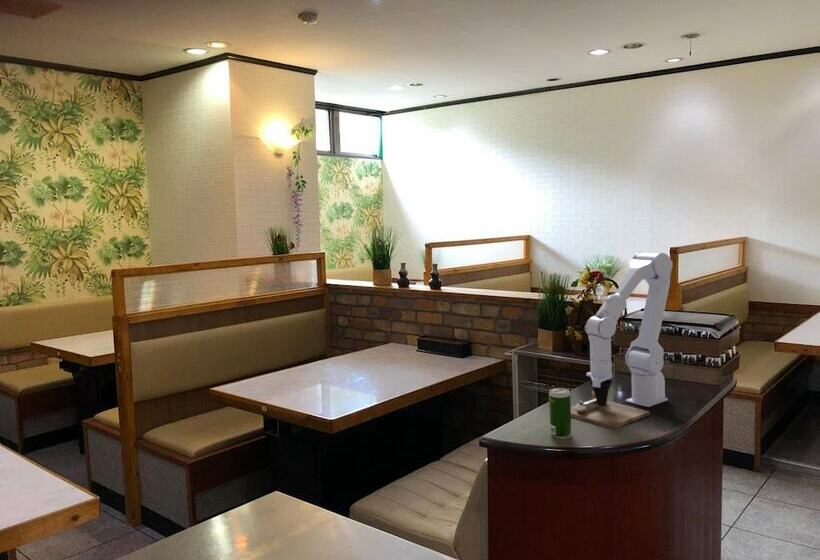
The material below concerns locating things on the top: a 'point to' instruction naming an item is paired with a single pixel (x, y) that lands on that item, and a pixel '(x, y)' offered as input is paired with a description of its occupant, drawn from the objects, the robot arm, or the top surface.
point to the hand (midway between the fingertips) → (601, 405)
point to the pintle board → (610, 414)
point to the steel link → (587, 405)
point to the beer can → (560, 413)
